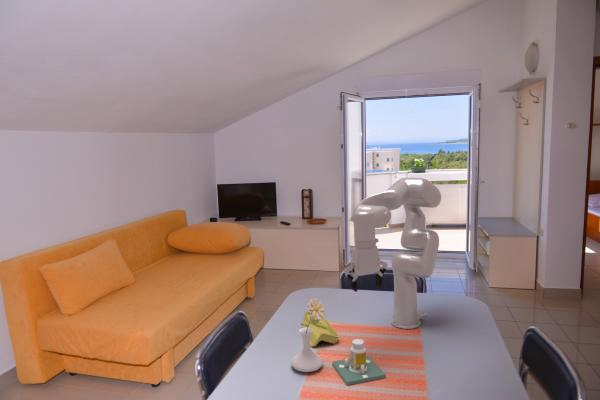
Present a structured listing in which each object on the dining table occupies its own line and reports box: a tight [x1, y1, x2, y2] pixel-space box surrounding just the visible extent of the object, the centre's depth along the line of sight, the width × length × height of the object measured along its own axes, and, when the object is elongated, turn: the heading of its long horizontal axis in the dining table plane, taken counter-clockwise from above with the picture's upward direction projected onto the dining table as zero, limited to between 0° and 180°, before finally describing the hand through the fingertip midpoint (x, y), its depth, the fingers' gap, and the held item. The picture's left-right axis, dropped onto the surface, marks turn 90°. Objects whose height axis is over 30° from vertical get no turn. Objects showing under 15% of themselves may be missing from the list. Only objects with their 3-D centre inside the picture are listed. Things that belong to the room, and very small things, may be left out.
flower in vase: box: [290, 297, 326, 373], centre depth 155 cm, size 13×11×25 cm
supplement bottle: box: [349, 338, 367, 371], centre depth 152 cm, size 5×5×10 cm
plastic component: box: [301, 310, 340, 348], centre depth 180 cm, size 20×7×10 cm
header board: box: [331, 354, 387, 386], centre depth 152 cm, size 14×14×4 cm
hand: (366, 288), depth 162 cm, fingers open, 9 cm apart
